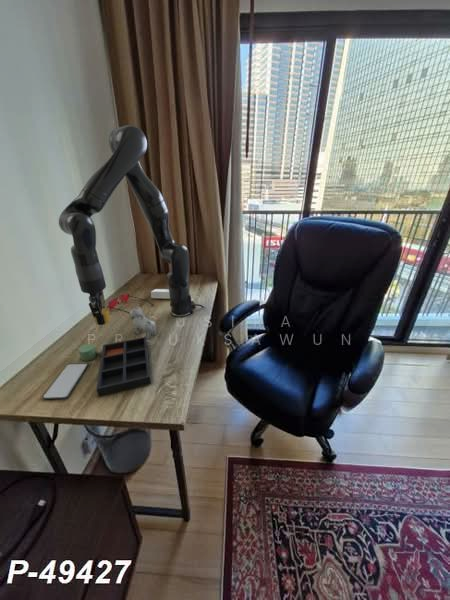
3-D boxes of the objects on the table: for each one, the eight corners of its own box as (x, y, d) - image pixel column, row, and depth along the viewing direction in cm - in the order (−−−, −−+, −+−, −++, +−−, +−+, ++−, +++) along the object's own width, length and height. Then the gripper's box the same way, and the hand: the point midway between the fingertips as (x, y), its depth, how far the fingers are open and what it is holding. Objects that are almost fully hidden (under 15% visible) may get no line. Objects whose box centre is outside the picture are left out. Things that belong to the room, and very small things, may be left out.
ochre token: (110, 316, 92) (108, 307, 91) (109, 323, 88) (107, 313, 86) (96, 318, 91) (93, 309, 89) (94, 326, 87) (91, 316, 85)
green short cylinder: (97, 350, 95) (94, 342, 93) (95, 359, 91) (92, 350, 89) (82, 353, 94) (79, 345, 92) (80, 362, 89) (77, 353, 88)
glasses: (128, 299, 133) (127, 291, 131) (153, 305, 127) (152, 296, 124) (107, 311, 122) (105, 302, 120) (133, 318, 116) (131, 309, 113)
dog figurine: (140, 324, 111) (136, 303, 106) (158, 334, 104) (155, 312, 99) (129, 330, 107) (125, 308, 103) (148, 340, 100) (144, 318, 96)
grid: (146, 342, 99) (145, 336, 98) (151, 383, 80) (149, 376, 79) (104, 351, 95) (103, 344, 94) (98, 396, 76) (96, 389, 74)
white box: (178, 296, 138) (178, 282, 137) (175, 298, 131) (174, 284, 130) (155, 295, 139) (155, 281, 138) (151, 298, 132) (150, 283, 131)
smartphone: (88, 363, 88) (65, 397, 75) (88, 364, 88) (66, 398, 75) (68, 363, 88) (41, 398, 75) (68, 364, 88) (42, 399, 75)
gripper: (100, 282, 77) (112, 329, 84) (105, 267, 89) (115, 309, 97) (73, 285, 75) (88, 333, 82) (81, 269, 87) (94, 312, 94)
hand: (102, 320), depth 89 cm, fingers closed on ochre token, 5 cm apart
